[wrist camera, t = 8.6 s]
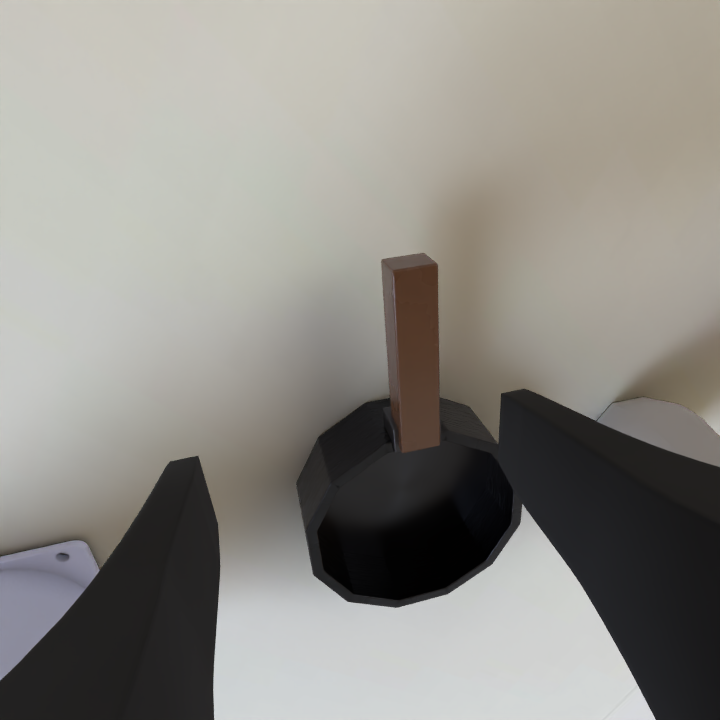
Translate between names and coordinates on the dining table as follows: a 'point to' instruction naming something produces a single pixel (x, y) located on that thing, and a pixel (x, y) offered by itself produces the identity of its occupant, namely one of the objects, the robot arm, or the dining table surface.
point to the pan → (406, 471)
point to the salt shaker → (665, 427)
